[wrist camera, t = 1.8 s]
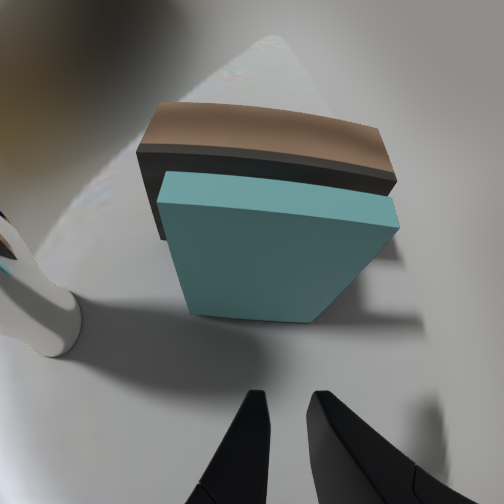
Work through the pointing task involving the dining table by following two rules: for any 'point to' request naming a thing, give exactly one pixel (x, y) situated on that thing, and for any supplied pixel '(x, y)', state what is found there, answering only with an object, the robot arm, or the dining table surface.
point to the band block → (261, 148)
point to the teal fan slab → (268, 243)
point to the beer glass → (33, 300)
